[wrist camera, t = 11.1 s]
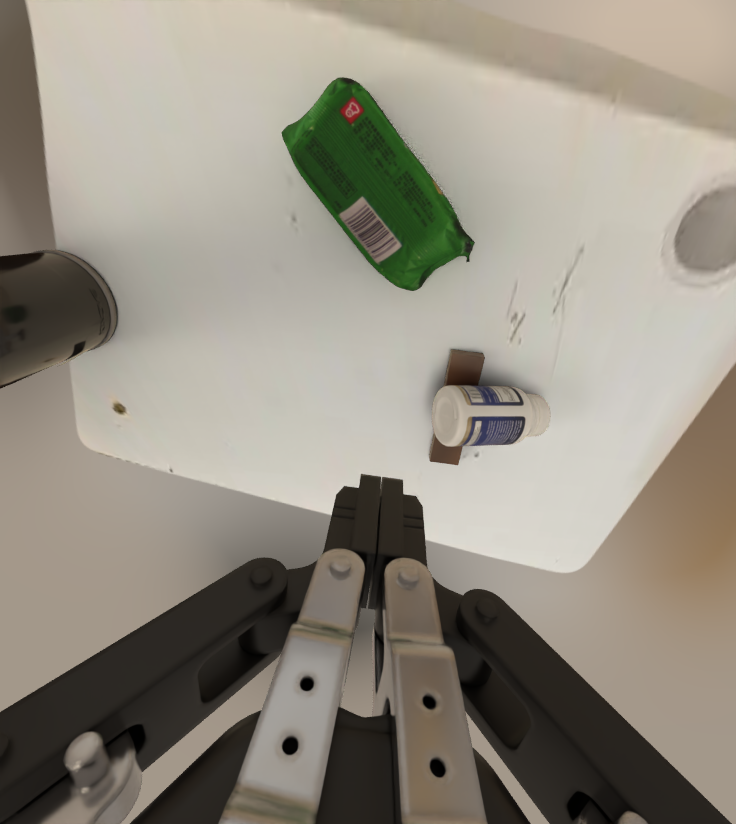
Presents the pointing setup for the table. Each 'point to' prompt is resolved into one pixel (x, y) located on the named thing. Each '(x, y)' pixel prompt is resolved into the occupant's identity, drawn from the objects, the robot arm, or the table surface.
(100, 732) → the robot arm
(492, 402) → the pill bottle
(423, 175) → the snack package
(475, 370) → the bar
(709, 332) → the table surface
